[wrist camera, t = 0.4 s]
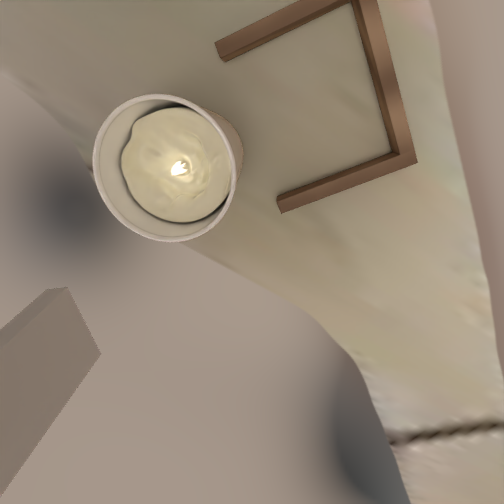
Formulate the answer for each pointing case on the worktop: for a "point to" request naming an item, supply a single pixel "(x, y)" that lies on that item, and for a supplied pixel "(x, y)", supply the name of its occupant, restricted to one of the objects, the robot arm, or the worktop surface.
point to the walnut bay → (382, 71)
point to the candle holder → (167, 166)
